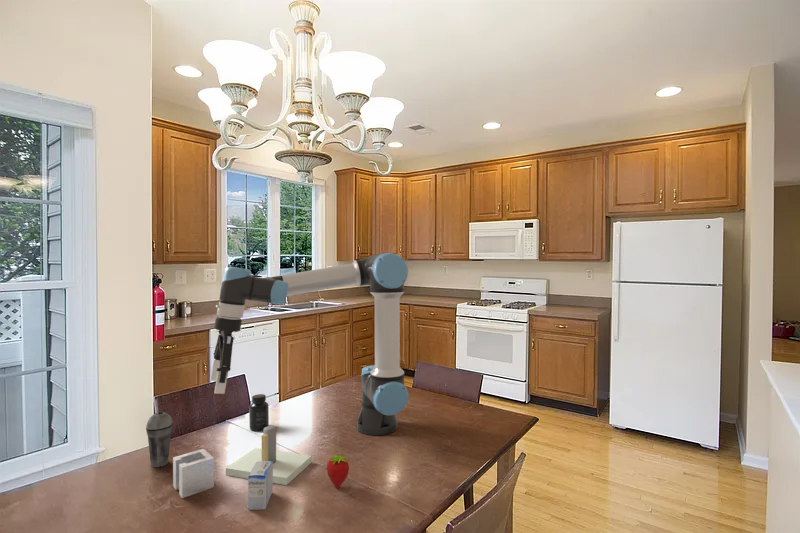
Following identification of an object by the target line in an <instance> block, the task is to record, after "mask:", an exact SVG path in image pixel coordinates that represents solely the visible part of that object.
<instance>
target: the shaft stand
mask: <svg viewBox="0 0 800 533" xmlns="http://www.w3.org/2000/svg"><path fill="white" fill-rule="evenodd" d="M262 431H263V434H262V435H261V448H259V447H255V448H253V449H252V450H250V451H248V452H247V453H246V454H244V455H243V456H241V457H240V458H239V459H237V460H236V461H234V462H232V463H231V464H229V465H228V466H227V467H225V476H230V477H235V478H241V479H247V480H248V476H249V474H250V473H251V471H252V469H253V467H254V465H255V464H256V462H258V461H272V462H273V484H276V485H283V486H288V485H289V484H290V483H291V482H292V481H293V480H294V479H295V478H297V476H298V475H299V474H301V473H302V472H303V471H304V470H305V469H306V468H307V467H308V466H309V465H310V464H312V455H307V454H300V453H293V452H288V451H287V452H286V451H280V450H277V427H276V426H274V425H269V426H268V427H265V428H264V429H263V430H262Z"/></svg>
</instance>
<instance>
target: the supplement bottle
mask: <svg viewBox="0 0 800 533" xmlns="http://www.w3.org/2000/svg"><path fill="white" fill-rule="evenodd" d="M251 402H252V403H250V405H249V408H248V409H249V410H248V411H249V412H248V414H249V429H250V431H252V432H261V431H263V429H264V428H265V427H268V426H270V424H269V423H270V420H269V419H270V417H269V416H270V414H269V412H270V411H269V406H270V404H269V403H268V402H267V398H266V394H263V393H260V394H259V393H258V394H254V395H252V396H251Z"/></svg>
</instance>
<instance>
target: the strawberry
mask: <svg viewBox="0 0 800 533" xmlns="http://www.w3.org/2000/svg"><path fill="white" fill-rule="evenodd" d="M341 452H342V450H340V451H339V453H338V455H336V454H333V457H329V460H328V462H327V464H326V471H327V475H328V478H329V480H330V481H331V483H332V485H333V486H334V487H335V489H338V488H341V486H342V484H344V482H345V480H346V478H348V475H349V471H350V465H349V462H348V460H346V459H349V458H350V457H349V456H341V454H340V453H341Z"/></svg>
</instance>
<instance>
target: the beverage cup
mask: <svg viewBox="0 0 800 533" xmlns="http://www.w3.org/2000/svg"><path fill="white" fill-rule="evenodd" d="M154 401H155V410H156V413H154V414H152V415H151V416H150V417H149V419H148V420H147V422H146V426H145V430H146V436H147V442H148V452H149V461H150V467H152V468H160V466H161V467H163V466H166V465H168V463H169V458H170V448H171V447H170V446H171V436H172V430H173V426H174V423H173V418H172V416H171V415H170V414H168V413H167V412H164V411H160V412H159V404H158V398H157V399H156V398H155V399H154Z"/></svg>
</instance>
